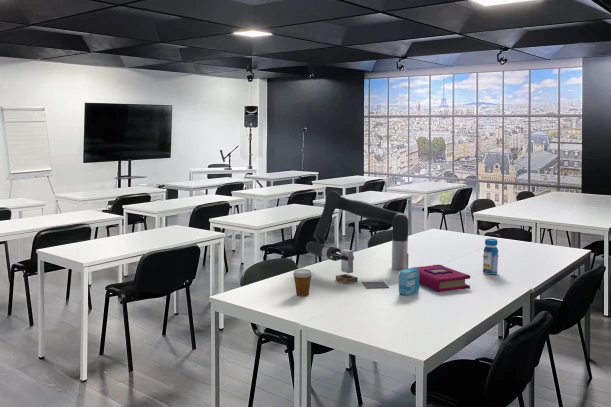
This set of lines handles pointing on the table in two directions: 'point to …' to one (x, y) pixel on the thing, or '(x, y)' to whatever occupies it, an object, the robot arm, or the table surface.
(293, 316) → the table surface
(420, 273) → the book
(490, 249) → the beverage bottle
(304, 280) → the disposable coffee cup
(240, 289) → the table surface
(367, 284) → the black mat
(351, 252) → the light grey rectangular block
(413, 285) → the data package
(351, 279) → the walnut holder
